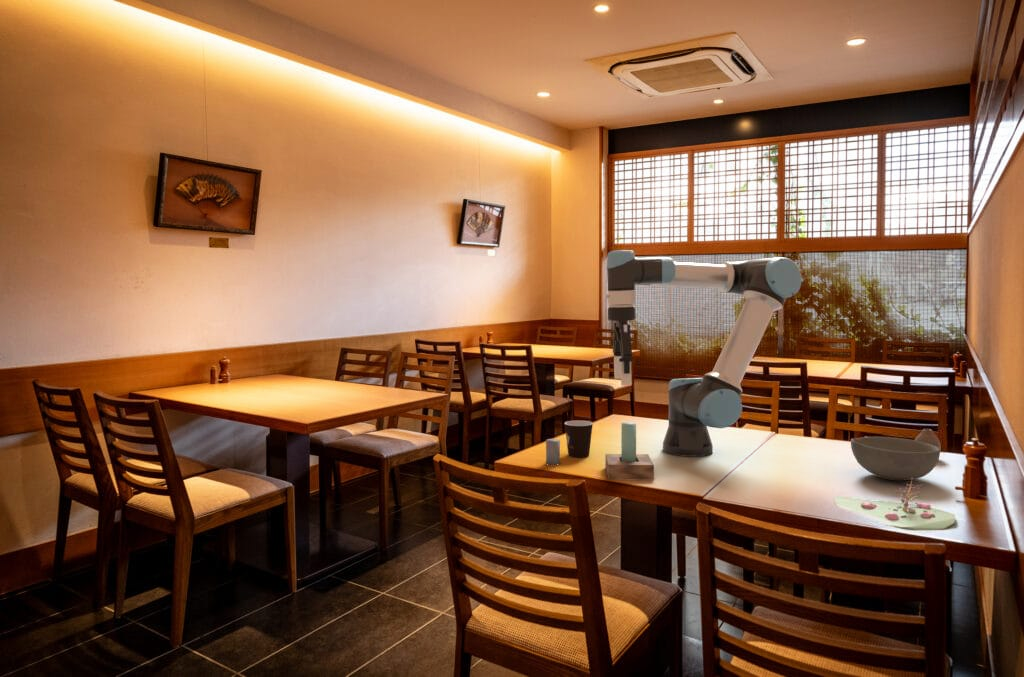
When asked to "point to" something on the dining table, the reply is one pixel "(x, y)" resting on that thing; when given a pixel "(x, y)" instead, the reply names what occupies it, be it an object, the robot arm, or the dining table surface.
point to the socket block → (629, 467)
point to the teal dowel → (628, 442)
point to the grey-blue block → (552, 451)
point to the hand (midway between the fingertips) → (622, 382)
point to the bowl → (895, 457)
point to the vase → (928, 438)
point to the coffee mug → (578, 438)
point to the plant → (901, 512)
